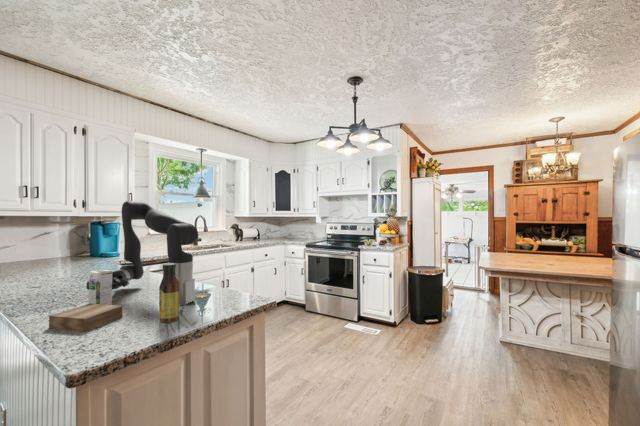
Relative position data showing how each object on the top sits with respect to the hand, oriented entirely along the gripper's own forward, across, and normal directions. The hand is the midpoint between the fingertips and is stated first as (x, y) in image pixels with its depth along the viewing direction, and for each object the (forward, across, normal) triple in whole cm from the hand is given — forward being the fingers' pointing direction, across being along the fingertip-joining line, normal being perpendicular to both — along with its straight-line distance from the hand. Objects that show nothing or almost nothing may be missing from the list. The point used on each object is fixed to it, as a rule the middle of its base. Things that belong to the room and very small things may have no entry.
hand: (101, 286), depth 119 cm
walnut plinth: (+18, +4, +8) cm, 20 cm away
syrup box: (0, 0, +8) cm, 8 cm away
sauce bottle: (+23, +30, +8) cm, 39 cm away
